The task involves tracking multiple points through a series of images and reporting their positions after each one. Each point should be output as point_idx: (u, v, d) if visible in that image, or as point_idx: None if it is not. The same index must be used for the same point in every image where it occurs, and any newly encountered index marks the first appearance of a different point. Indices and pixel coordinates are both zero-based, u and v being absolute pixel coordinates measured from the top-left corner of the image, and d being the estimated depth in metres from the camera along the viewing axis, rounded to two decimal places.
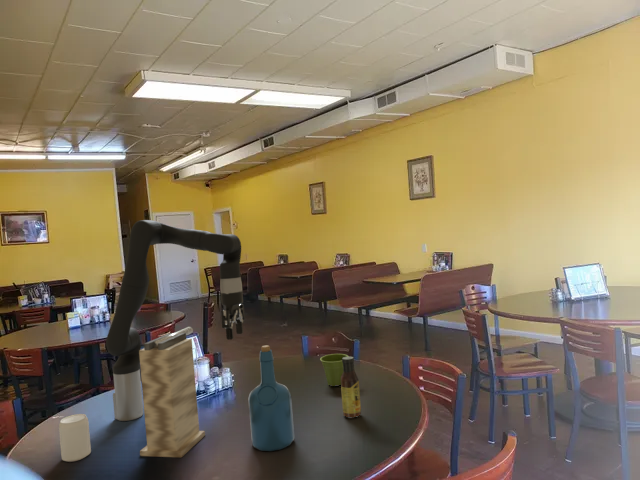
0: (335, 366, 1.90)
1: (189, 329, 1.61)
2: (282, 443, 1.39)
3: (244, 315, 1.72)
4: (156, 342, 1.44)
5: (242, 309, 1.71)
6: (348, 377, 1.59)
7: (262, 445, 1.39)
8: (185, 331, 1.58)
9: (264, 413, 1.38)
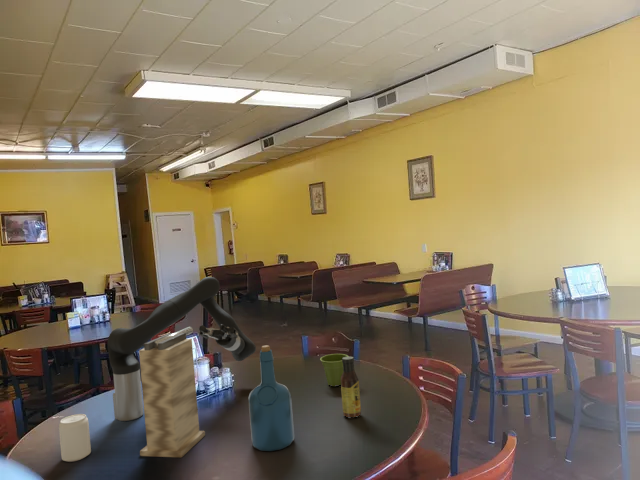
0: (335, 366, 1.90)
1: (189, 329, 1.61)
2: (282, 443, 1.39)
3: None
4: (156, 342, 1.44)
5: (206, 337, 1.86)
6: (348, 377, 1.59)
7: (262, 445, 1.39)
8: (185, 331, 1.58)
9: (264, 413, 1.38)
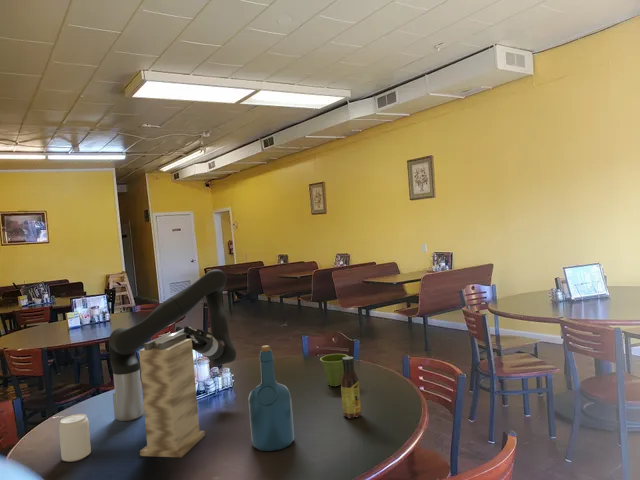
0: (335, 366, 1.90)
1: None
2: (282, 443, 1.39)
3: None
4: (156, 342, 1.44)
5: None
6: (348, 377, 1.59)
7: (262, 445, 1.39)
8: None
9: (264, 413, 1.38)
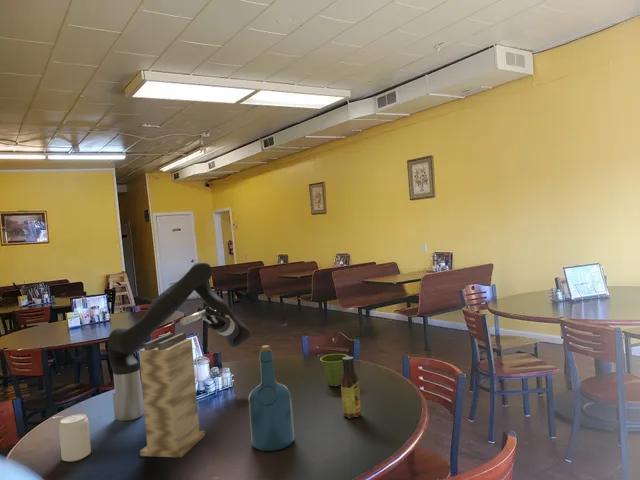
0: (335, 366, 1.90)
1: None
2: (282, 443, 1.39)
3: None
4: (182, 320, 1.59)
5: (200, 320, 1.81)
6: (348, 377, 1.59)
7: (262, 445, 1.39)
8: None
9: (264, 413, 1.38)
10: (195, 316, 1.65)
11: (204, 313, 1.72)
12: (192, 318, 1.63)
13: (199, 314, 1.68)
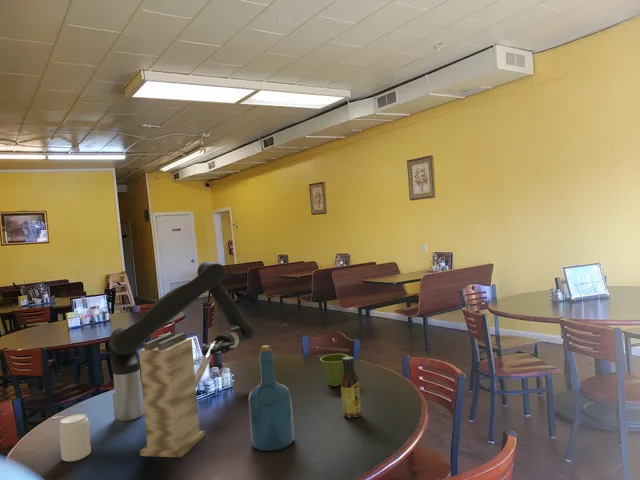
0: (335, 366, 1.90)
1: None
2: (282, 443, 1.39)
3: None
4: None
5: None
6: (348, 377, 1.59)
7: (262, 445, 1.39)
8: None
9: (264, 413, 1.38)
10: (203, 369, 1.68)
11: (210, 357, 1.73)
12: (201, 375, 1.66)
13: (206, 363, 1.70)
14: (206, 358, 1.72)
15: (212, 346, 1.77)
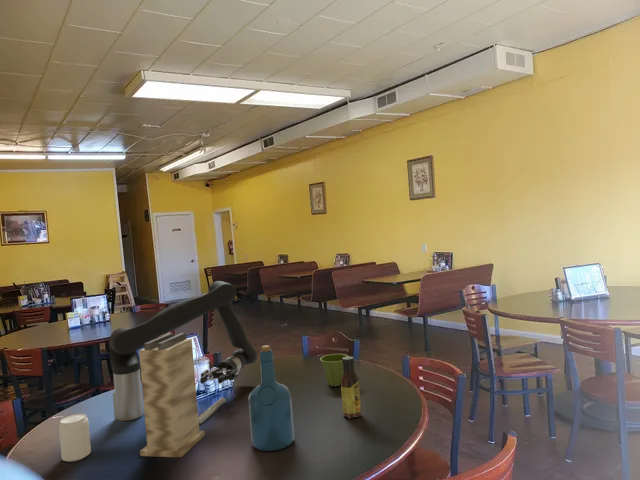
0: (335, 366, 1.90)
1: (223, 400, 1.82)
2: (282, 443, 1.39)
3: None
4: (198, 419, 1.64)
5: (207, 376, 1.84)
6: (348, 376, 1.59)
7: (262, 445, 1.39)
8: (220, 403, 1.79)
9: (264, 413, 1.38)
10: (209, 412, 1.71)
11: (218, 406, 1.77)
12: (207, 415, 1.68)
13: (213, 408, 1.74)
14: (214, 405, 1.76)
15: (221, 399, 1.82)
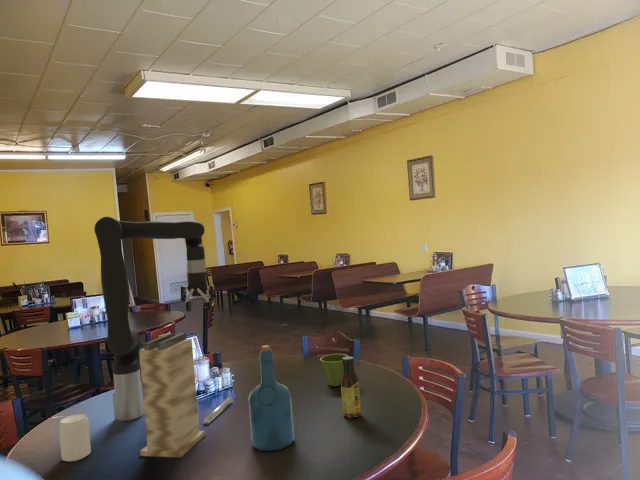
0: (335, 366, 1.90)
1: None
2: (282, 443, 1.39)
3: None
4: (206, 423, 1.64)
5: None
6: (348, 376, 1.59)
7: (262, 445, 1.39)
8: None
9: (264, 413, 1.38)
10: None
11: None
12: None
13: None
14: None
15: None
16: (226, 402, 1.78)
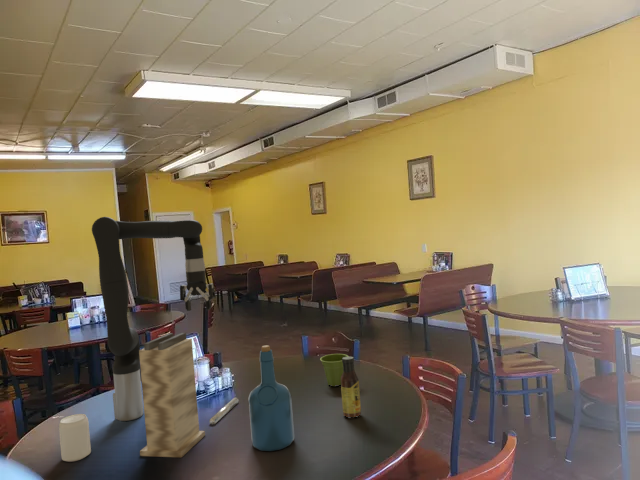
0: (335, 366, 1.90)
1: (233, 399, 1.81)
2: (282, 443, 1.39)
3: (183, 295, 1.91)
4: (210, 421, 1.63)
5: None
6: (348, 377, 1.59)
7: (262, 445, 1.39)
8: (230, 402, 1.78)
9: (264, 413, 1.38)
10: (220, 410, 1.70)
11: (228, 404, 1.76)
12: (218, 413, 1.67)
13: (224, 407, 1.73)
14: (224, 406, 1.75)
15: (231, 400, 1.81)
16: (231, 408, 1.78)
